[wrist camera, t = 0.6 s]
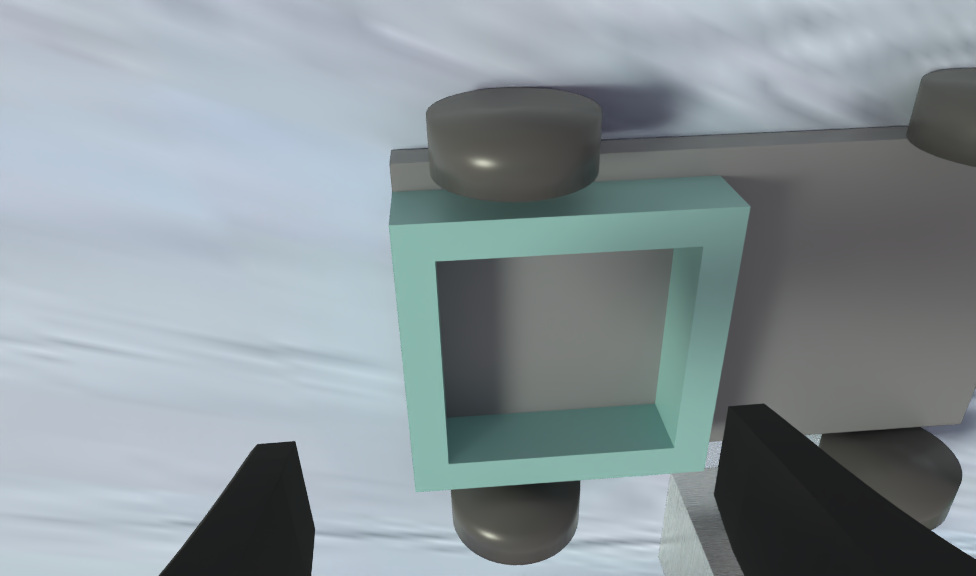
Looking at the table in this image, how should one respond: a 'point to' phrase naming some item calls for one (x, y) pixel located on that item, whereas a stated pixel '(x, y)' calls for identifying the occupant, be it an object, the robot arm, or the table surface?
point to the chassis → (677, 301)
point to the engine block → (695, 529)
